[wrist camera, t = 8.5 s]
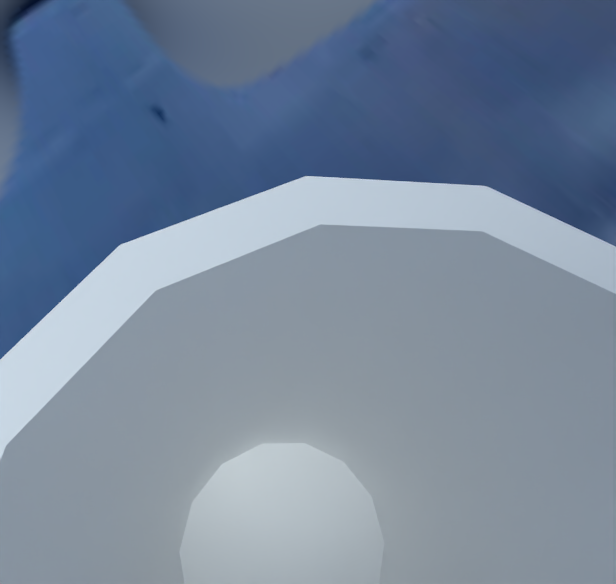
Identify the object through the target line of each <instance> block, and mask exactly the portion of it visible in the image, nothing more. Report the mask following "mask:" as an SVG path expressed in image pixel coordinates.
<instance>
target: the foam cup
mask: <svg viewBox="0 0 616 584" xmlns="http://www.w3.org/2000/svg"><path fill="white" fill-rule="evenodd" d="M0 584H616V247H615V246H613V245H611V244H609V243H607V242H605V241H603V240H600V239H598V238H596V237H594V236H592V235H590V234H588V233H585V232H583V231H581V230H579V229H577V228H575V227H573V226H571V225H568V224H566V223H564V222H562V221H560V220H558V219H556V218H553V217H551V216H549V215H547V214H545V213H543V212H541V211H538V210H536V209H534V208H532V207H530V206H528V205H526V204H523V203H521V202H519V201H517V200H515V199H513V198H511V197H508V196H506V195H504V194H502V193H500V192H498V191H496V190H494V189H491V188H489V187H487V186H476V185H459V184H441V183H423V182H405V181H387V180H369V179H351V178H333V177H315V176H305V177H302V178H300V179H297V180H294V181H291V182H289V183H286V184H283V185H281V186H278V187H275V188H273V189H270V190H267V191H264V192H262V193H259V194H256V195H254V196H251V197H248V198H246V199H243V200H240V201H237V202H235V203H232V204H229V205H227V206H224V207H221V208H219V209H216V210H213V211H210V212H208V213H205V214H202V215H200V216H197V217H194V218H192V219H189V220H186V221H183V222H181V223H178V224H175V225H173V226H170V227H167V228H165V229H162V230H159V231H156V232H154V233H151V234H148V235H146V236H143V237H140V238H138V239H135V240H132V241H129V242H127V243H124V244H121V245H119V246H118V247H117V248H116V249H115V250H114V251H113V252H112V253H111V254H110V255H109V256H108V257H107V258H106V259H105V260H104V261H103V262H102V263H101V264H100V265H99V266H97V267H96V268H95V269H94V270H93V271H92V272H91V273H90V274H89V275H88V276H87V277H86V278H85V279H84V280H83V281H82V282H81V283H80V284H79V285H78V286H77V287H76V288H75V289H73V290H72V291H71V292H70V293H69V294H68V295H67V296H66V297H65V298H64V299H63V300H62V301H61V302H60V303H59V304H58V305H57V306H56V307H55V308H54V309H53V310H52V311H51V312H50V313H48V314H47V315H46V316H45V317H44V318H43V319H42V320H41V321H40V322H39V323H38V324H37V325H36V326H35V327H34V328H33V329H32V330H31V331H30V332H29V333H28V334H27V335H26V336H24V337H23V338H22V339H21V340H20V341H19V342H18V343H17V344H16V345H15V346H14V347H13V348H12V349H11V350H10V351H9V352H8V353H7V354H6V355H5V356H4V357H3V358H2V359H0Z"/></svg>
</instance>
